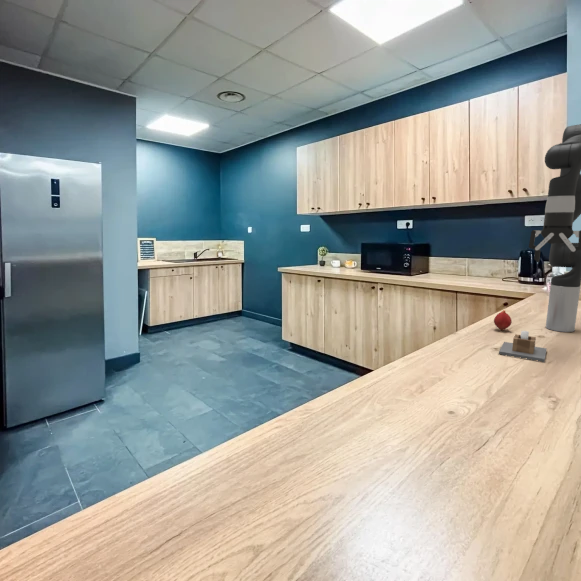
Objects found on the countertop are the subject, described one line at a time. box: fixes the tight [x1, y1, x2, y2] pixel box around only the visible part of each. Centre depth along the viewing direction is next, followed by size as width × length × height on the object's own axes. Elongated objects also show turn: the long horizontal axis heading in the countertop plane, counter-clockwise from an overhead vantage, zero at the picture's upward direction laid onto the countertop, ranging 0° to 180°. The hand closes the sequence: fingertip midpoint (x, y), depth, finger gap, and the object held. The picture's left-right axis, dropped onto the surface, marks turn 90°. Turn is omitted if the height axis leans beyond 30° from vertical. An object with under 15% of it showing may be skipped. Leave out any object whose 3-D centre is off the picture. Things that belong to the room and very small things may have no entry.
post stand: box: [498, 330, 547, 363], centre depth 120 cm, size 12×12×7 cm
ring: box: [512, 333, 537, 354], centre depth 120 cm, size 6×6×4 cm
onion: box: [493, 310, 512, 331], centre depth 145 cm, size 6×6×8 cm
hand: (553, 262), depth 122 cm, fingers open, 8 cm apart
